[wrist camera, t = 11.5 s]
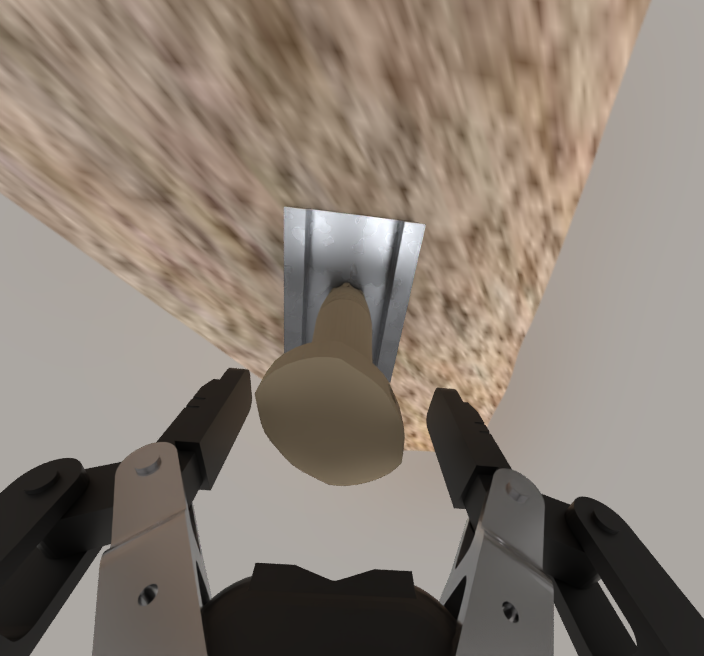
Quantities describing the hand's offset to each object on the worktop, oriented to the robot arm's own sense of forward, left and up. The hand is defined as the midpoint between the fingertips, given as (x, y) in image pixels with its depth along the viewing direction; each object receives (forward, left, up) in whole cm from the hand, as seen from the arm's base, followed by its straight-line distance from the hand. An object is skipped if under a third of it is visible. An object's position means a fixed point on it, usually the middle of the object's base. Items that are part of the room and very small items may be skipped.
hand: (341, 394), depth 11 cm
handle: (0, 0, -13) cm, 13 cm away
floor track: (0, 0, -14) cm, 14 cm away
